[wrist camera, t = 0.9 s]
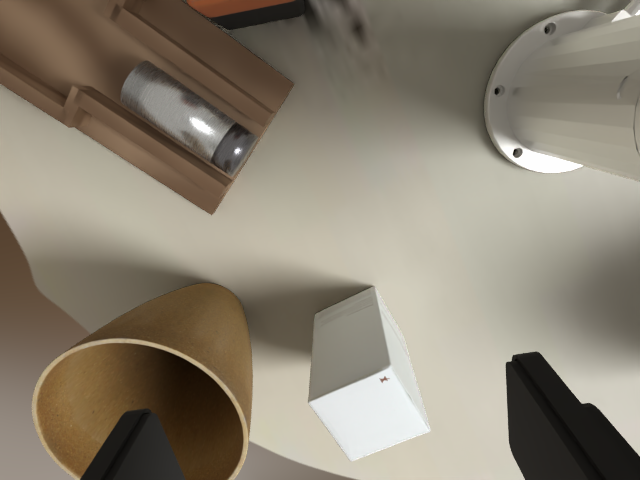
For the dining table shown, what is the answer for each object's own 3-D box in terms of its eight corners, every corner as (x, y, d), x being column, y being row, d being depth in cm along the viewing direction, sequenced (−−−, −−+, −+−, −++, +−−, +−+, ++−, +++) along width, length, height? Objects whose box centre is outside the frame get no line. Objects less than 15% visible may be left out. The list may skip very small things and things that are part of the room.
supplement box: (312, 312, 41) (303, 401, 29) (375, 283, 40) (393, 363, 28) (344, 363, 43) (349, 465, 31) (405, 337, 42) (434, 433, 30)
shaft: (159, 62, 32) (135, 58, 28) (261, 134, 34) (252, 139, 30) (138, 104, 33) (113, 105, 29) (238, 172, 35) (226, 181, 31)
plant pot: (307, 304, 41) (291, 425, 26) (227, 389, 45) (174, 536, 30) (188, 217, 38) (92, 297, 23) (115, 317, 42) (-6, 440, 27)
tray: (15, -124, 29) (-26, -152, 25) (294, 84, 33) (290, 82, 30) (-40, 48, 33) (-81, 43, 30) (214, 212, 37) (203, 223, 34)
